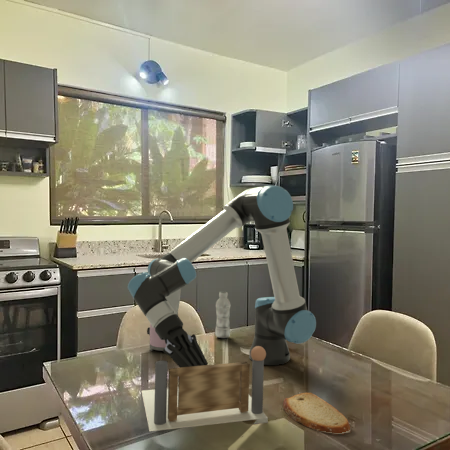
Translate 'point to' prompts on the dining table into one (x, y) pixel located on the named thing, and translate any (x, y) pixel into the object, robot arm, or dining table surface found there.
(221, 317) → the plastic bottle
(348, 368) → the dining table surface
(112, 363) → the dining table surface
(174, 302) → the blender
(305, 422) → the slice of bread
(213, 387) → the gate
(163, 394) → the gate frame
